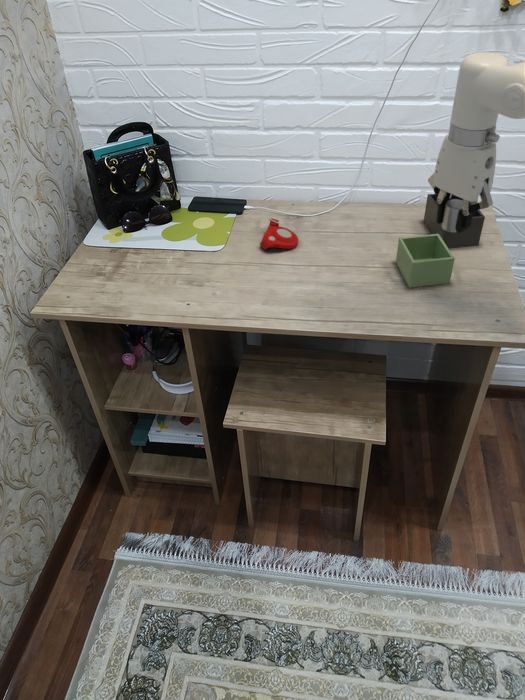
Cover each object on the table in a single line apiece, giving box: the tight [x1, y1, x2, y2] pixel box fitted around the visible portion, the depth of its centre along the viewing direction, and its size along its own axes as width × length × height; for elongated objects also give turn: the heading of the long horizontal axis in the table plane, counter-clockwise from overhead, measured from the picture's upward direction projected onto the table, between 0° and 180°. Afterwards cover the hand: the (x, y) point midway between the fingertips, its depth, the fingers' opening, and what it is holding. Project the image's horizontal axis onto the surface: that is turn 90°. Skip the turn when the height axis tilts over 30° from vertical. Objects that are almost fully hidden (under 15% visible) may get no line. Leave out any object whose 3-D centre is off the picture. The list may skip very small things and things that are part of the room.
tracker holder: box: [259, 218, 299, 250], centre depth 142 cm, size 12×4×10 cm
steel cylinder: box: [442, 199, 463, 232], centre depth 110 cm, size 4×4×5 cm
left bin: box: [395, 233, 456, 289], centre depth 128 cm, size 10×9×7 cm
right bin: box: [423, 193, 486, 249], centre depth 139 cm, size 13×9×8 cm
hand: (452, 224), depth 111 cm, fingers closed on steel cylinder, 4 cm apart
